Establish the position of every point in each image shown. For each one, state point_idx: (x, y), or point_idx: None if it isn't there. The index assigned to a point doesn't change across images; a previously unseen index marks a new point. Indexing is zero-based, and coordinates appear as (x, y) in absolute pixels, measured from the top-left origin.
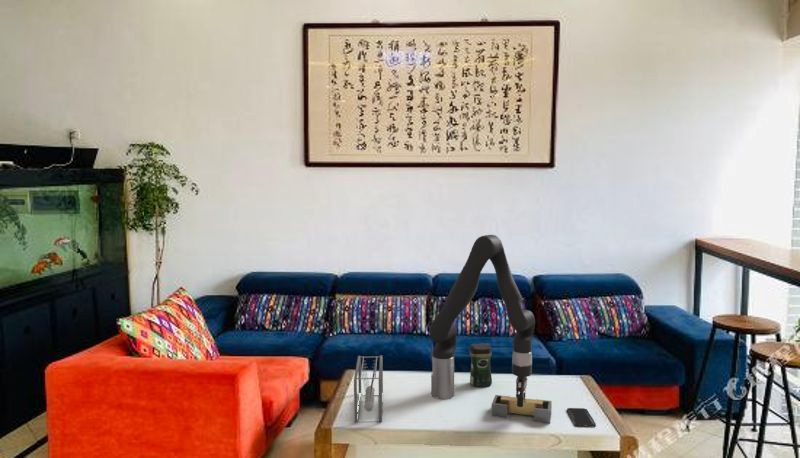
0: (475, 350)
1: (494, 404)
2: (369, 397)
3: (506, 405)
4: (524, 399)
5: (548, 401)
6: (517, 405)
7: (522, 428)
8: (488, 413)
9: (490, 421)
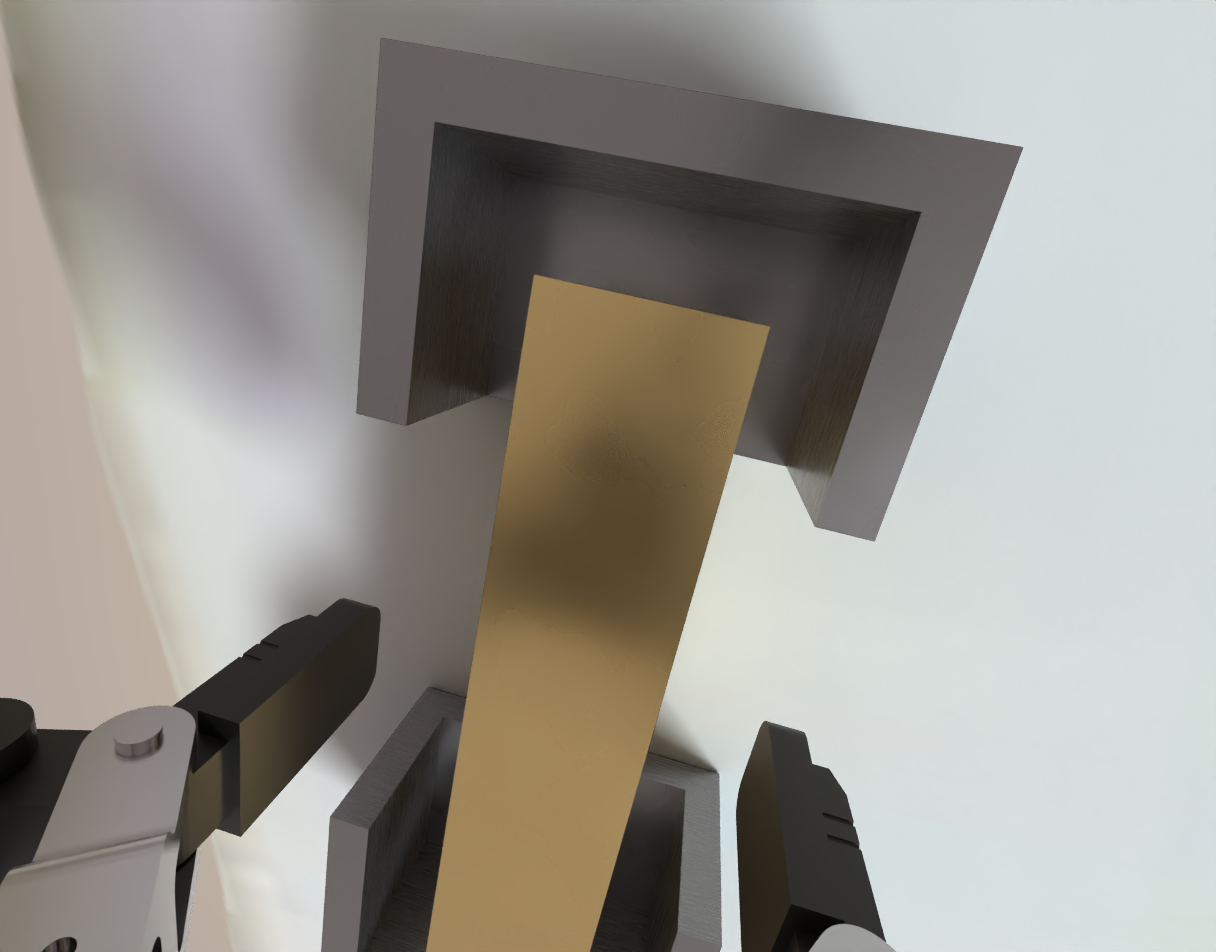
0: None
1: (377, 118)
2: None
3: (370, 398)
4: (575, 789)
5: None
6: (338, 607)
7: (232, 534)
8: (607, 71)
9: (321, 113)
